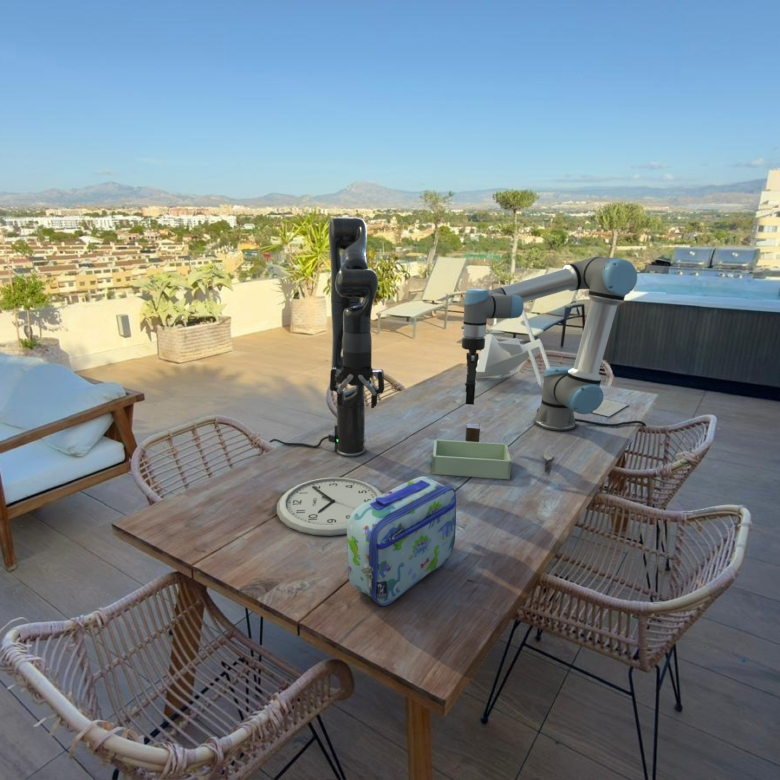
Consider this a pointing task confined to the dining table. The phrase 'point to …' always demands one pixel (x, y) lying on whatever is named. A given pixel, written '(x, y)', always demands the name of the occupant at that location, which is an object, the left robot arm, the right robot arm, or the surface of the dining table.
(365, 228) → the left robot arm
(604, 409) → the invitation card
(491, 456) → the tote
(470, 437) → the walnut block
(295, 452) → the dining table surface
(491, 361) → the white plastic object
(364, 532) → the lunch box
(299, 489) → the wall clock
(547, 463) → the fork
